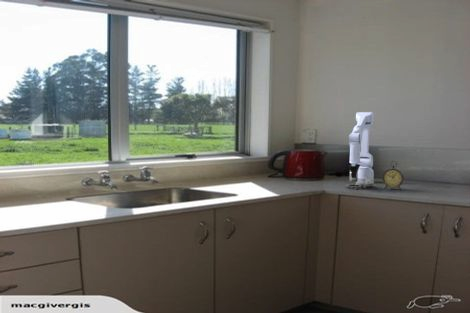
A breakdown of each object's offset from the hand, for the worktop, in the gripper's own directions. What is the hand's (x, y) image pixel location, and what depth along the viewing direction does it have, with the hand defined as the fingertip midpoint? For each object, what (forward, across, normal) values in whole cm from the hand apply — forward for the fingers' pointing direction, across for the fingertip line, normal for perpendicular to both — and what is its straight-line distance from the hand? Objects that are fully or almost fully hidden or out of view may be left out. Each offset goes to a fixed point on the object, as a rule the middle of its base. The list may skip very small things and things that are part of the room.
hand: (354, 177), depth 237 cm
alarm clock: (+6, +6, -21) cm, 23 cm away
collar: (+2, 0, 0) cm, 2 cm away
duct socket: (+6, +3, -3) cm, 8 cm away
